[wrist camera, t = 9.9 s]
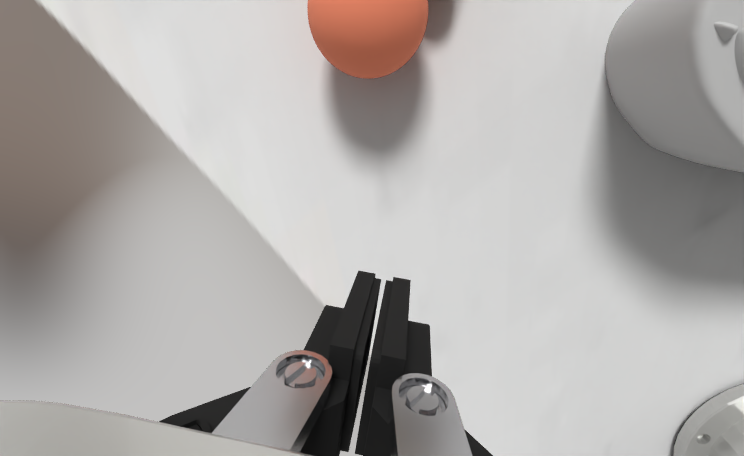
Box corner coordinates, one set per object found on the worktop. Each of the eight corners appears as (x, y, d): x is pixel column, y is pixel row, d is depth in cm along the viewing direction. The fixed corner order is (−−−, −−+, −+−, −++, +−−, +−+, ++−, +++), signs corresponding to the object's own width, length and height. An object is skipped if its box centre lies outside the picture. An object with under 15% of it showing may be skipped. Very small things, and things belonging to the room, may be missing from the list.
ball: (431, -104, 16) (467, 41, 19) (356, -51, 21) (394, 58, 23) (322, -63, 14) (382, 94, 17) (266, -14, 18) (321, 101, 21)
